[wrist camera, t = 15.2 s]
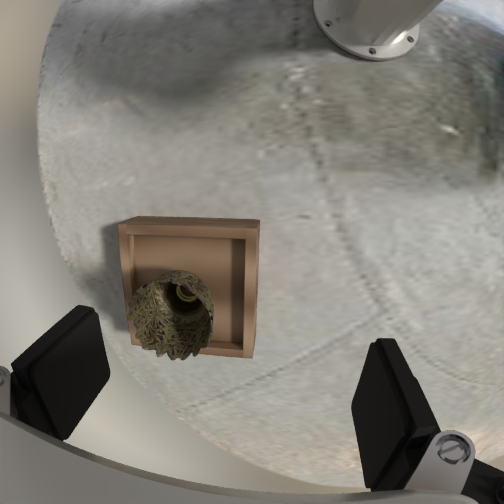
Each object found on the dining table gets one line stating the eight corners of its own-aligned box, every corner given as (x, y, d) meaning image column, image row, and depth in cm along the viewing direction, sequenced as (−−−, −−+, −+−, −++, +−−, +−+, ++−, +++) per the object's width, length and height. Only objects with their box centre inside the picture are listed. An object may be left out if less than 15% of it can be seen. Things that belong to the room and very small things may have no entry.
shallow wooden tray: (139, 215, 35) (117, 224, 30) (260, 218, 34) (257, 228, 29) (148, 323, 39) (131, 344, 33) (256, 333, 38) (252, 358, 32)
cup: (148, 259, 32) (116, 286, 24) (216, 249, 31) (200, 276, 23) (165, 322, 33) (141, 362, 26) (229, 316, 33) (220, 358, 25)
